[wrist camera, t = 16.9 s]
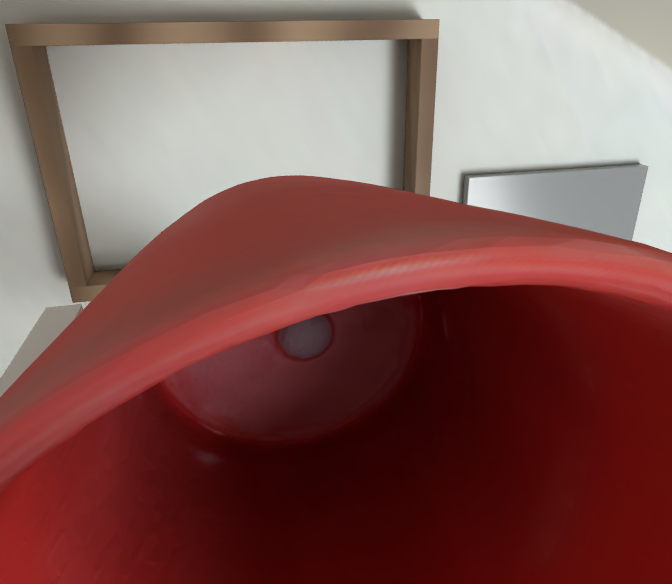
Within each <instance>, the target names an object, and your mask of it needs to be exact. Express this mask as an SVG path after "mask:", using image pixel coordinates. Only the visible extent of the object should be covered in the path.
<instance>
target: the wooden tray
mask: <svg viewBox="0 0 672 584" xmlns="http://www.w3.org/2000/svg"><path fill="white" fill-rule="evenodd" d="M5 26H6V30H7V34H8V39H9V43H10V47H11V51H12V55H13V59H14V63H15V67H16V71H17V75H18V80H19V84H20V88H21V92H22V96H23V100H24V104H25V108H26V112H27V116H28V121H29V125H30V129H31V133H32V137H33V141H34V145H35V149H36V153H37V158H38V162H39V166H40V170H41V174H42V178H43V182H44V186H45V190H46V194H47V199H48V203H49V207H50V211H51V215H52V219H53V223H54V227H55V231H56V236H57V240H58V244H59V248H60V252H61V256H62V260H63V264H64V268H65V272H66V277H67V281H68V285H69V289H70V293H71V297H72V301H73V303H75V302H86V301H92V300H93V299H94V298H95V297H96V296H97V295H98V294H99V293H100V292H101V291H102V290H103V289H104V288H105V287H106V286H107V285H108V283H109V282H110V281H111V280H112V279H113V278H114V277H115V276H116V275H117V274H118V273H119V272H120V271H121V270H122V269H117V270H105V271H94V266H93V262H92V257H91V253H90V248H89V243H88V239H87V234H86V230H85V225H84V221H83V216H82V211H81V207H80V202H79V198H78V193H77V189H76V184H75V180H74V175H73V170H72V166H71V161H70V157H69V152H68V148H67V143H66V138H65V134H64V129H63V125H62V120H61V116H60V111H59V107H58V102H57V97H56V93H55V88H54V84H53V79H52V75H51V70H50V65H49V61H48V56H47V52H46V47H45V46H59V45H115V44H170V43H226V42H281V41H337V40H392V39H408V62H407V91H406V120H405V149H404V177H403V191H408V192H412V193H417V194H421V195H426V196H430V180H431V162H432V144H433V126H434V108H435V90H436V72H437V54H438V36H439V19H418V20H330V21H243V22H155V23H67V24H5Z"/></svg>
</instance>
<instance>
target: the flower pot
mask: <svg viewBox="0 0 672 584" xmlns="http://www.w3.org/2000/svg"><path fill="white" fill-rule="evenodd" d="M0 584H672V253H670V252H667V251H664V250H661V249H658V248H655V247H652V246H649V245H646V244H642V243H638V242H634V241H630V240H626V239H622V238H618V237H614V236H610V235H606V234H602V233H598V232H594V231H590V230H586V229H582V228H577V227H573V226H568V225H564V224H559V223H555V222H550V221H546V220H541V219H537V218H532V217H527V216H523V215H518V214H514V213H509V212H504V211H498V210H493V209H488V208H483V207H477V206H472V205H467V204H462V203H457V202H453V201H448V200H444V199H439V198H435V197H430V196H426V195H421V194H417V193H412V192H408V191H403V190H398V189H393V188H388V187H383V186H378V185H373V184H367V183H361V182H355V181H347V180H339V179H332V178H324V177H314V176H277V177H269V178H263V179H259V180H254V181H250V182H245V183H242V184H239V185H237V186H234V187H232V188H229V189H227V190H224V191H222V192H220V193H218V194H216V195H214V196H212V197H210V198H208V199H206V200H205V201H203V202H202V203H200V204H199V205H197V206H196V207H194V208H193V209H192V210H190V211H189V212H187V213H186V214H185V215H183V216H182V217H181V218H179V219H178V220H177V221H175V222H174V223H173V224H172V225H170V226H169V227H168V228H166V229H165V230H164V231H162V232H161V233H160V234H159V235H158V236H157V237H156V238H155V239H154V240H152V241H151V242H150V243H149V244H148V245H147V246H146V247H145V248H143V249H142V250H141V251H140V252H139V253H138V254H137V255H136V256H135V257H134V258H133V259H132V260H131V261H130V262H129V263H128V264H127V265H126V266H125V267H124V268H123V269H122V270H121V271H120V272H119V273H118V274H117V275H116V276H115V277H114V278H113V279H112V280H111V281H110V282H109V283H108V285H107V286H106V287H105V288H104V289H103V290H102V291H101V292H100V293H99V294H98V295H97V296H96V297H95V298H94V299H93V300H92V301H91V302H90V303H89V304H88V305H87V306H86V307H85V309H84V310H83V311H82V312H81V313H80V314H79V315H78V316H77V317H76V318H75V319H74V320H73V321H72V322H71V323H70V324H69V325H68V326H67V327H66V328H65V329H64V331H63V332H62V333H61V334H60V335H59V336H58V337H57V338H56V339H55V340H54V341H53V342H52V343H51V344H50V345H49V346H48V347H47V348H46V349H45V350H44V351H43V352H42V353H41V354H40V356H39V357H38V358H37V359H36V360H35V361H34V362H33V363H32V364H31V365H30V366H29V367H28V368H27V369H26V370H25V371H24V372H23V373H22V374H21V375H20V376H19V378H18V379H17V380H16V381H15V382H14V383H13V384H12V385H11V386H10V387H9V388H8V389H7V390H6V391H5V392H4V394H3V395H2V396H1V397H0Z"/></svg>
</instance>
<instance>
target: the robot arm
mask: <svg viewBox="0 0 672 584" xmlns="http://www.w3.org/2000/svg"><path fill="white" fill-rule="evenodd" d="M82 311H83V308H82V304H79V305H69V306H58V307H48V308H46V309H45V310H44V312H43V313H42V315H41V317H40V318H39V320H38V321H37V323H36V324H35V326H34V327H33V329H32V331H31V332H30V334H29V335H28V337H27V338H26V340H25V341H24V343H23V345H22V346H21V348H20V349H19V351H18V352H17V354H16V355H15V357H14V359H13V360H12V362H11V363H10V365H9V366H8V368H7V369H6V371H5V373H4V374H3V376H2V377H1V379H0V397H1V396H2V395H3V394H4V392H5V391H6V390H7V389H8V388H9V387H10V386H11V385H12V384H13V383H14V382H15V381H16V380H17V379H18V378H19V376H20V375H21V374H22V373H23V372H24V371H25V370H26V369H27V368H28V367H29V366H30V365H31V364H32V363H33V362H34V361H35V360H36V359H37V358H38V357H39V356H40V354H41V353H42V352H43V351H44V350H45V349H46V348H47V347H48V346H49V345H50V344H51V343H52V342H53V341H54V340H55V339H56V338H57V337H58V336H59V335H60V334H61V333H62V332H63V331H64V329H65V328H66V327H67V326H68V325H69V324H70V323H71V322H72V321H73V320H74V319H75V318H76V317H77V316H78V315H79V314H80V313H81V312H82Z"/></svg>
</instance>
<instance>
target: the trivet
mask: <svg viewBox="0 0 672 584" xmlns="http://www.w3.org/2000/svg"><path fill="white" fill-rule="evenodd" d="M647 170H648V166H646V165H642V164H635V165H620V166H604V167H589V168H574V169H558V170H543V171H527V172H512V173H497V174H481V175H466V176H465V180H464V192H463V204H467V205H472V206H477V207H483V208H488V209H493V210H498V211H504V212H509V213H514V214H518V215H523V216H527V217H532V218H537V219H541V220H546V221H550V222H555V223H559V224H564V225H568V226H573V227H577V228H582V229H586V230H590V231H594V232H598V233H602V234H606V235H610V236H614V237H618V238H622V239H626V240H630V241H632V238H633V233H634V229H635V224H636V220H637V215H638V211H639V206H640V202H641V197H642V193H643V188H644V183H645V179H646V174H647Z"/></svg>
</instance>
